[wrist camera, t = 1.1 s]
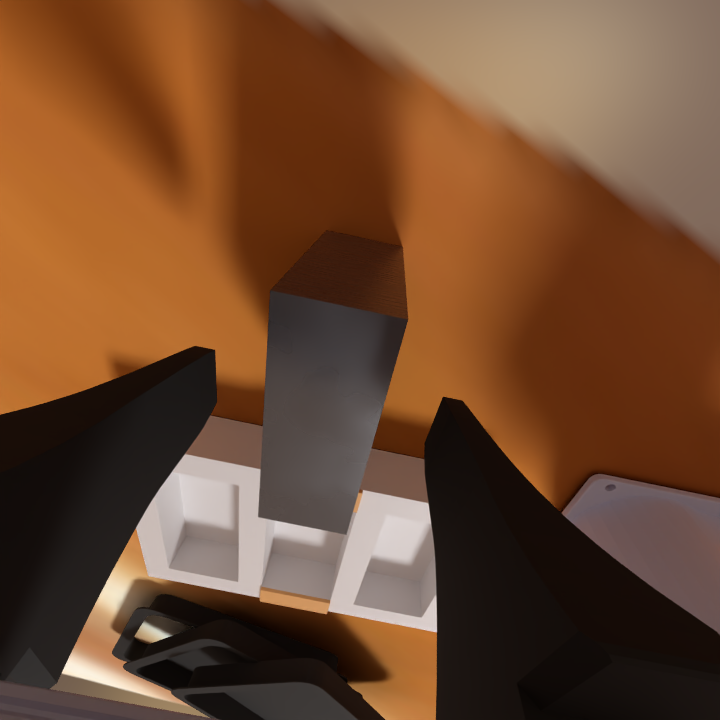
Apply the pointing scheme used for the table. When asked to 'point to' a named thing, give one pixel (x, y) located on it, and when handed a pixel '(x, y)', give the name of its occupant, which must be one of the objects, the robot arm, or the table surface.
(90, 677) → the table surface
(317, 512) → the panel
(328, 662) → the tray
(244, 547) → the tray
